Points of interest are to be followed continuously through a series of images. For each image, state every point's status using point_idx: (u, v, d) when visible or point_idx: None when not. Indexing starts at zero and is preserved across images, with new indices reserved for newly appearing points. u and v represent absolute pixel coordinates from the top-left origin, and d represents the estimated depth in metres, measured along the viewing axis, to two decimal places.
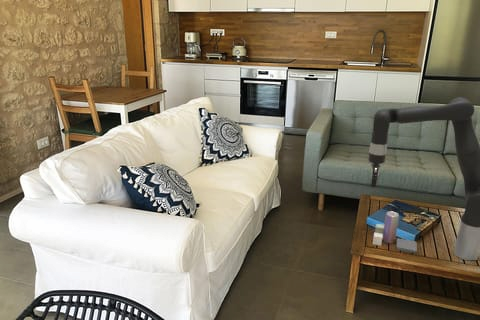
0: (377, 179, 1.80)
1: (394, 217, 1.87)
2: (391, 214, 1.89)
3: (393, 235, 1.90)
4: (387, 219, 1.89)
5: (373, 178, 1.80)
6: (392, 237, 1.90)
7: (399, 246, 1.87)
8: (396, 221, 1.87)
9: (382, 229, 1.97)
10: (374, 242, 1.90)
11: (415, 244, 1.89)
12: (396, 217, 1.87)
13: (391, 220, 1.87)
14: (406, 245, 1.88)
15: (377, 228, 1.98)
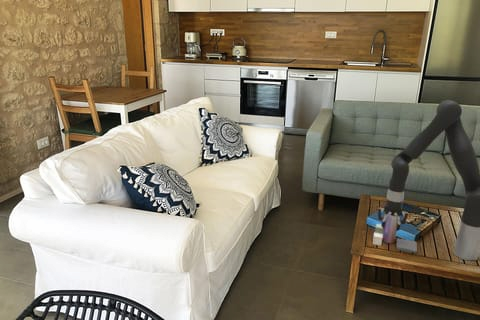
0: None
1: (394, 217, 1.87)
2: None
3: (393, 235, 1.90)
4: (387, 219, 1.89)
5: (404, 222, 1.88)
6: (392, 237, 1.90)
7: (399, 246, 1.87)
8: (396, 221, 1.87)
9: (382, 229, 1.97)
10: (374, 242, 1.90)
11: (415, 244, 1.89)
12: (396, 217, 1.87)
13: (391, 220, 1.87)
14: (406, 245, 1.88)
15: (377, 228, 1.98)
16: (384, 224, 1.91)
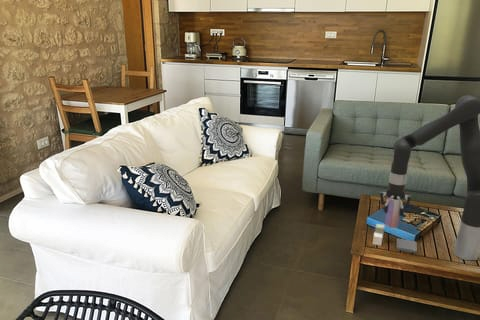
0: None
1: (397, 201, 1.84)
2: (393, 198, 1.86)
3: (396, 219, 1.87)
4: (389, 203, 1.86)
5: (407, 205, 1.85)
6: (394, 221, 1.87)
7: (399, 246, 1.87)
8: (399, 205, 1.84)
9: (382, 229, 1.97)
10: (374, 242, 1.90)
11: (415, 244, 1.89)
12: (399, 201, 1.84)
13: (394, 204, 1.84)
14: (406, 245, 1.88)
15: (377, 228, 1.98)
16: None
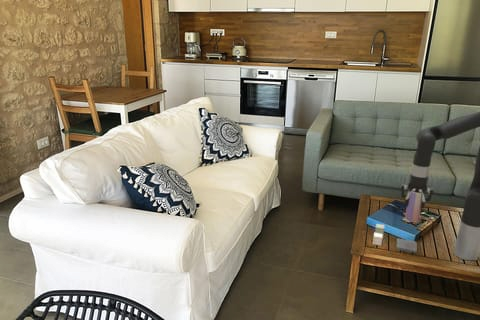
0: None
1: (419, 194, 1.77)
2: None
3: (417, 213, 1.80)
4: (411, 196, 1.79)
5: (429, 199, 1.78)
6: (416, 215, 1.80)
7: (399, 246, 1.87)
8: (421, 198, 1.77)
9: (382, 229, 1.97)
10: (374, 242, 1.90)
11: (415, 244, 1.89)
12: (421, 194, 1.77)
13: (415, 197, 1.77)
14: (406, 245, 1.88)
15: (377, 228, 1.98)
16: (407, 202, 1.81)
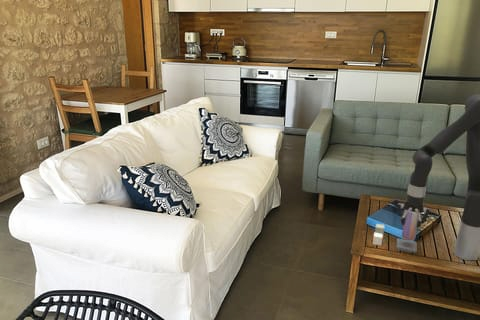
0: None
1: (415, 213, 1.80)
2: (411, 210, 1.82)
3: (413, 232, 1.83)
4: (407, 215, 1.82)
5: (425, 218, 1.81)
6: (412, 233, 1.83)
7: (399, 246, 1.87)
8: (417, 217, 1.81)
9: (382, 229, 1.97)
10: (374, 242, 1.90)
11: (415, 244, 1.89)
12: (417, 213, 1.80)
13: (412, 216, 1.81)
14: (406, 245, 1.88)
15: (377, 228, 1.98)
16: (404, 220, 1.85)
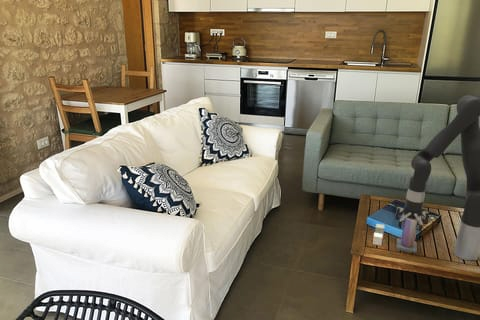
0: None
1: (413, 221, 1.81)
2: None
3: (412, 239, 1.84)
4: (406, 223, 1.83)
5: None
6: (411, 241, 1.84)
7: (399, 246, 1.87)
8: (415, 225, 1.82)
9: (382, 229, 1.97)
10: (374, 242, 1.90)
11: (415, 244, 1.89)
12: (415, 221, 1.81)
13: (410, 224, 1.82)
14: None
15: (377, 228, 1.98)
16: (401, 224, 1.85)
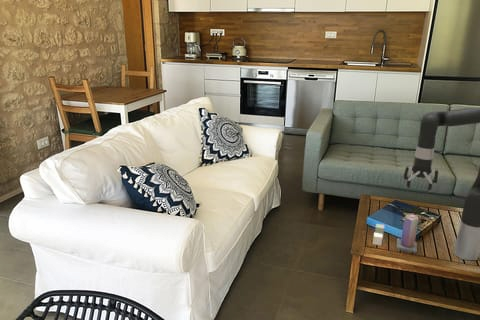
0: None
1: (414, 220, 1.81)
2: (410, 217, 1.83)
3: (412, 239, 1.84)
4: (406, 222, 1.83)
5: (436, 180, 1.79)
6: (411, 240, 1.85)
7: (399, 246, 1.87)
8: (416, 224, 1.82)
9: (382, 229, 1.97)
10: (374, 242, 1.90)
11: (415, 244, 1.89)
12: (416, 220, 1.81)
13: (410, 223, 1.82)
14: None
15: (377, 228, 1.98)
16: None
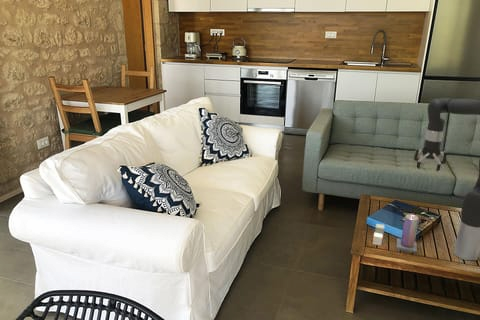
0: None
1: (414, 220, 1.81)
2: (410, 217, 1.83)
3: (412, 239, 1.84)
4: (406, 222, 1.83)
5: None
6: (411, 241, 1.85)
7: (399, 246, 1.87)
8: (416, 224, 1.82)
9: (382, 229, 1.97)
10: (374, 242, 1.90)
11: (415, 244, 1.89)
12: (416, 220, 1.81)
13: (411, 223, 1.82)
14: None
15: (377, 228, 1.98)
16: None
